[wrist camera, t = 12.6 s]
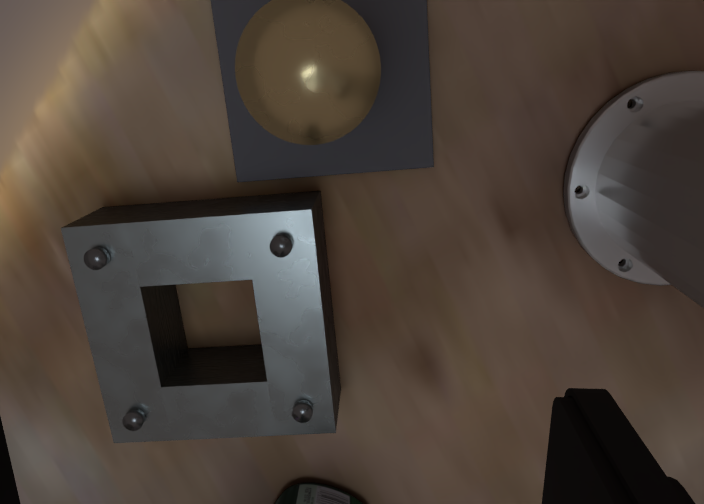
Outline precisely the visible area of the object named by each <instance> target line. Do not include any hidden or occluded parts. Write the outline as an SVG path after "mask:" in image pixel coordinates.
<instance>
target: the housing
mask: <svg viewBox="0 0 704 504" xmlns="http://www.w3.org/2000/svg"><path fill="white" fill-rule="evenodd" d="M61 230H62V234H63V238H64V242H65V247H66V251H67V255H68V259H69V263H70V267H71V271H72V275H73V279H74V283H75V287H76V291H77V295H78V299H79V303H80V307H81V311H82V316H83V320H84V324H85V328H86V332H87V336H88V340H89V344H90V348H91V352H92V356H93V360H94V364H95V368H96V372H97V376H98V380H99V385H100V389H101V393H102V397H103V401H104V405H105V409H106V413H107V417H108V421H109V425H110V429H111V433H112V437H113V441H114V443H125V442H146V441H168V440H189V439H211V438H232V437H254V436H275V435H297V434H318V433H336V426H337V418H338V410H339V401H340V393H341V385H340V375H339V366H338V356H337V346H336V337H335V327H334V317H333V308H332V298H331V288H330V279H329V269H328V259H327V250H326V240H325V230H324V221H323V211H322V201H321V192H320V191H311V192H298V193H285V194H272V195H258V196H245V197H232V198H219V199H206V200H192V201H179V202H166V203H153V204H140V205H126V206H113V207H102V208H100V209H98V210H96V211H94V212H92V213H90V214H88V215H86V216H84V217H82V218H80V219H78V220H76V221H74V222H72V223H70V224H68V225H66V226H64V227H62V228H61ZM250 279H252V281H253V288H254V295H255V301H256V308H257V315H258V322H259V329H260V335H261V342H262V345H244V346H227V347H210V348H192V349H187V344H186V338H185V333H184V328H183V323H182V317H181V312H180V307H179V301H178V296H177V291H176V286H175V284H189V283H205V282H220V281H235V280H250Z"/></svg>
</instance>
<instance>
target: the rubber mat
mask: <svg viewBox="0 0 704 504" xmlns="http://www.w3.org/2000/svg"><path fill="white" fill-rule="evenodd" d="M270 1H271V0H211V6H212V12H213V19H214V26H215V33H216V40H217V46H218V53H219V60H220V67H221V74H222V81H223V87H224V94H225V101H226V108H227V115H228V121H229V128H230V135H231V142H232V149H233V155H234V162H235V169H236V176H237V182H247V181H260V180H273V179H286V178H298V177H311V176H324V175H337V174H350V173H363V172H376V171H389V170H402V169H415V168H427V167H434V162H433V139H432V115H431V92H430V68H429V45H428V21H427V0H341V1H343V2H345V3H346V4H348V5H349V6H350V7H351V8H353V9H354V10H355V11H356V12H357V13H358V14H359V15H360V16H361V17H362V18H363V20H364V21H365V22H366V24H367V25H368V27H369V28H370V30H371V32H372V34H373V36H374V38H375V41H376V43H377V47H378V50H379V54H380V62H381V78H380V85H379V89H378V93H377V96H376V99H375V101H374V104H373V105H372V107H371V109H370V111H369V113H368V114H367V115H366V117H365V118H364V119H363V121H362V122H361V123H360V124H359V125H358V126H357V127H356V128H354V129H353V130H352V131H351V132H349V133H348V134H346V135H344V136H343V137H341V138H339V139H336V140H334V141H331V142H328V143H324V144H318V145H302V144H295V143H291V142H288V141H285V140H283V139H280V138H278V137H276V136H274V135H273V134H271V133H269V132H268V131H267V130H265V129H264V128H263V127H262V126H261V125H260V124H259V123H258V122H256V120H255V119H254V118H253V117H252V115H251V114H250V113H249V111H248V110H247V108H246V107H245V105H244V103H243V100H242V98H241V96H240V93H239V90H238V87H237V82H236V76H235V56H236V50H237V46H238V43H239V39H240V37H241V35H242V32H243V30H244V28H245V27H246V25H247V23H248V22H249V20H250V19H251V18H252V17H253V15H254V14H255V13H256V12H257V11H258V10H259V9H260V8H262V7H263V6H264V5H265V4H267V3H268V2H270Z"/></svg>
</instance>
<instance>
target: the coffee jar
mask: <svg viewBox="0 0 704 504" xmlns="http://www.w3.org/2000/svg"><path fill="white" fill-rule="evenodd" d="M275 504H363V503H362V502H360V501H359V500H358V499H356V498H354V497H353V496H351V495H350V494H348V493H346V492H344V491H342V490H339V489H337V488H334V487H331V486H328V485H324V484H317V483H300V484H296V485H293V486H291V487H289V488H288V489H286V490H285V491H284V492H283V493H282V494H281V495H280V497H279V498H278V499H277V501H276V502H275Z"/></svg>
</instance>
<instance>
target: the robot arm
mask: <svg viewBox="0 0 704 504" xmlns="http://www.w3.org/2000/svg"><path fill="white" fill-rule="evenodd" d="M630 99H631V100H632V102H633V104H632V106H631V107H630V108H627V103H628V101H629V100H630ZM577 186H581V189H580V191H579V192H577V193H575V192H574V191H575V188H576V187H577ZM563 197H564V205H565V213H566V216H567V219H568V222H569V225H570V228H571V231H572V232H573V234H574V236H575V237H576V239H577V241H578V242H579V244H580V245H581V247H582V248H583V249H584V250H585V251H586V252H587V253H588V254H589V255H590V256H591V257H592V258H593V259H594V260H595V261H596V262H597V263H599V264H600V265H601V266H602V267H604V268H605V269H606V270H608V271H610V272H612V273H613V274H615V275H617V276H619V277H621V278H624V279H627V280H631V281H634V282H637V283H641V284H650V285H659V286H660V285H673V286H674V287H675V288H677V289H678V290H679V291H681V292H682V293H684V294H685V295H686V296H688V297H689V298H690V299H692V300H693V301H695V302H696V303H697V304H699V305H700V306H701V307H703V308H704V71H684V72H673V73H667V74H663V75H659V76H656V77H652V78H649V79H646V80H644V81H642V82H640V83H638V84H636V85H634V86H631V87H629V88H627V89H626V90H624V91H623V92H621V93H620V94H619V95H617V96H616V97H614V98H613V99H612V100H610V101H609V102H608V103H607V104H606V105H605V106H604V107H603V108H602V109H601V110H600V111H599V112H598V113H597V114H595V115H594V116H593V117H592V119H591V120H590V122H589V123H588V124H587V126H586V127H585V129H584V130H583V131H582V133H581V134H580V136H579V138H578V140H577V142H576V144H575V146H574V148H573V150H572V152H571V154H570V157H569V161H568V165H567V168H566V172H565V178H564V191H563ZM622 259H623V262H622V263H621V264H619V262H620V261H621V260H622ZM0 504H20V500H19V496H18V491H17V487H16V482H15V478H14V474H13V469H12V465H11V461H10V456H9V452H8V447H7V443H6V439H5V434H4V430H3V426H2V421H1V417H0ZM542 504H695V503H694V501H693V500H692V498H691V497H690V496H689V494H688V493H687V491H686V490H685V489H684V487H683V486H682V485H681V484H680V483H679V482H678V481H677V480H676V479H673V478H671V477H667V476H666V475H665V473H664V472H663V470H662V469H661V467H660V466H659V464H658V463H657V461H656V460H655V459H654V457H653V456H652V454H651V453H650V451H649V450H648V448H647V447H646V446H645V444H644V443H643V441H642V440H641V438H640V437H639V435H638V434H637V432H636V431H635V430H634V428H633V427H632V425H631V424H630V422H629V421H628V419H627V418H626V416H625V415H624V414H623V412H622V411H621V409H620V408H619V406H618V405H617V403H616V402H615V400H614V399H613V398H612V396H611V395H610V393H609V392H608V391H607V390H605V389H578V388H569V389H568V390H566V393H565V396H564V397H556V398H555V399H554V401H553V406H552V415H551V424H550V434H549V443H548V452H547V461H546V470H545V480H544V489H543V498H542Z"/></svg>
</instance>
